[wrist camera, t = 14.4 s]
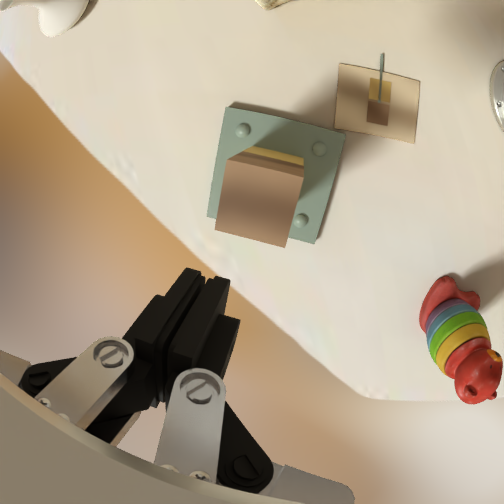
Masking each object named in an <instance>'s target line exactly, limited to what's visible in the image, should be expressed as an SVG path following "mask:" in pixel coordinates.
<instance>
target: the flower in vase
mask: <svg viewBox="0 0 504 504" xmlns="http://www.w3.org/2000/svg"><path fill="white" fill-rule="evenodd" d="M88 2H89V0H1V1H0V12H4V11H6V10H7V9H9V8H11V7H15V6H32V7H36V8H38V9H39V19H38V21H39V26H40V30H41V31H42V33H43V34H45V35H46V36H48V37H56V36H59V35H61V34H63V33H65V32H66V31H68V30H69V29H70V28H71V27H72V26H73V25H74V24H75V23H76V22H77V21H78V20H79V19H80V17H81V16H82V14H83V13H84V11H85V9H86V7H87V5H88Z"/></svg>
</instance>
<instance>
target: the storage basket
mask: <svg viewBox="0 0 504 504" xmlns="http://www.w3.org/2000/svg"><path fill="white" fill-rule="evenodd" d="M255 1H256V2H257V3H258V4H259V6H261V7H262V8H263V9H265V10H271V9H272V8H274V7H276V6H278V5H281V4H283V3H286V2H288V1H290V0H255Z"/></svg>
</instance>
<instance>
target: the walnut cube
mask: <svg viewBox="0 0 504 504" xmlns="http://www.w3.org/2000/svg"><path fill="white" fill-rule="evenodd" d="M303 179H304V166H303V165H299V164H295V163H291V162H287V161H283V160H279V159H275V158H271V157H267V156H262V155H258V154H253V153H249V152H244V151H242V152H240V153H238V154H236V155H234V156H232V157H230V158H229V159H227V161H226V166H225V172H224V177H223V183H222V189H221V194H220V200H219V206H218V212H217V218H216V224H215V230H218V231H222V232H226V233H229V234H233V235H237V236H241V237H245V238H249V239H253V240H257V241H260V242H264V243H268V244H272V245H276V246H280V247H283V248H285V246H286V242H287V239H288V235H289V231H290V228H291V224H292V220H293V217H294V213H295V209H296V205H297V202H298V198H299V194H300V190H301V187H302V183H303Z"/></svg>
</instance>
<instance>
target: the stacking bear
mask: <svg viewBox="0 0 504 504" xmlns="http://www.w3.org/2000/svg"><path fill="white" fill-rule="evenodd" d="M479 306H480V297H479V295H477V294H476V292H473V291H471V292H462V291H460V290H459V289H458V288H457V285H456V282H455V281H454V279H453V278H449V277H448V276H445V277H443V278H440V279H438V280H437V281H436V282H435V283H434V284H433V286H432V287H431V289H430V290H429V292H428V293H427V295H426V297H425V299H424V301H423V304H422V307H421V311H420V317H419V322H420V326H421V328H422V330H423V331H424V332H425V333H426V337H427V344H428V349H429V352H430V355H431V357H432V359H433V360H434V362H435V363H436V364H437V365H438V367H439V368H440V370H441V371H442V372H443V373H444V374H445V375H446V376H448V377H450V378H452V379H455V381H454V382H455V389H456V393H457V395H458V397H459V398H460V399H461V400H462V401H463V402H465V403H467V404H477V403H480V402H482V401H484V400H486V399H489V400H492V399H495V398H496V396H497V392H496V389H497V388H498V386H499V383H500V380H501V375H502V368H503V362H502V358H501V356H500V354H499V353H497V352H496V351H494V350H491V342H490V337H489V333H488V331H487V326H486V324H485V322H484V320H483V318H482V316H481V315H480V314H479V313H478V311H477V310H478V309H479Z"/></svg>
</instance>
